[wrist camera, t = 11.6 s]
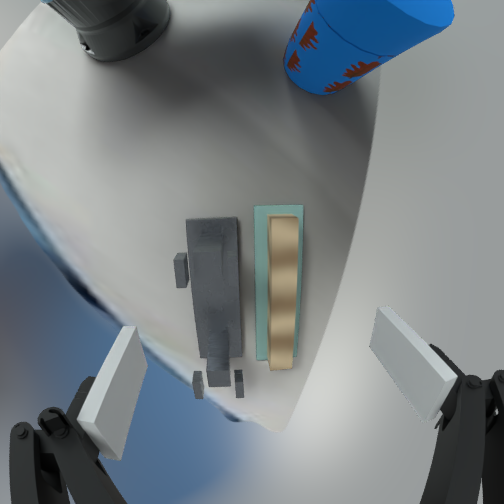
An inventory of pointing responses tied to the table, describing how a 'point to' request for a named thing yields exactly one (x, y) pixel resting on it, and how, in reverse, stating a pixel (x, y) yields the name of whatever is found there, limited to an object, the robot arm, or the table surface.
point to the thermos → (357, 38)
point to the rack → (213, 297)
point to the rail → (281, 288)
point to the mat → (262, 272)
